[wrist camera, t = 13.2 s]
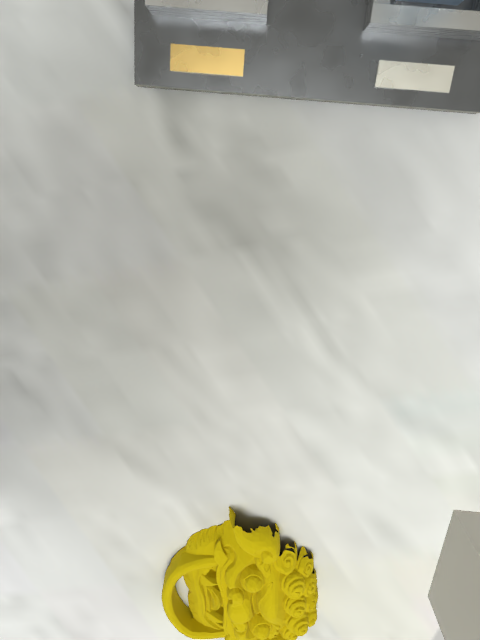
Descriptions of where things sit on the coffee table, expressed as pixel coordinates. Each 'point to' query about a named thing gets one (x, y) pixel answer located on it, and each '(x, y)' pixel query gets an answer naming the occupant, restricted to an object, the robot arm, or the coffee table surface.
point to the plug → (436, 1)
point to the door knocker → (241, 586)
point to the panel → (314, 50)
